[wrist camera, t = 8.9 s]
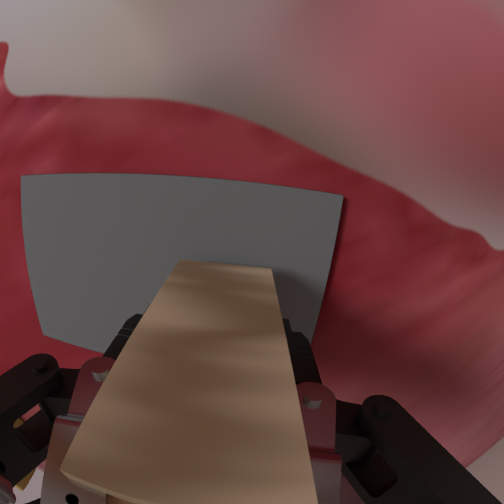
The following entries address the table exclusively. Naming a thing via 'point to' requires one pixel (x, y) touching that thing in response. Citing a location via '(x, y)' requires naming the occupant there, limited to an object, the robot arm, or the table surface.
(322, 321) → the table surface
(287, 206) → the mat
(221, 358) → the block
